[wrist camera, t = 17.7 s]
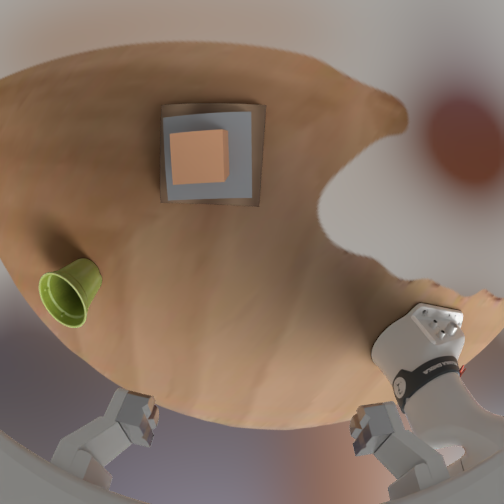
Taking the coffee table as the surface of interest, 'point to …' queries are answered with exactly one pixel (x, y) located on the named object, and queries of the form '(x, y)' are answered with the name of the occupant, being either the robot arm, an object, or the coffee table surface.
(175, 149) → the rust cube
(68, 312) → the plant pot
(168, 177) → the upper tower block
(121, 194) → the coffee table surface
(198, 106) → the lower tower block
